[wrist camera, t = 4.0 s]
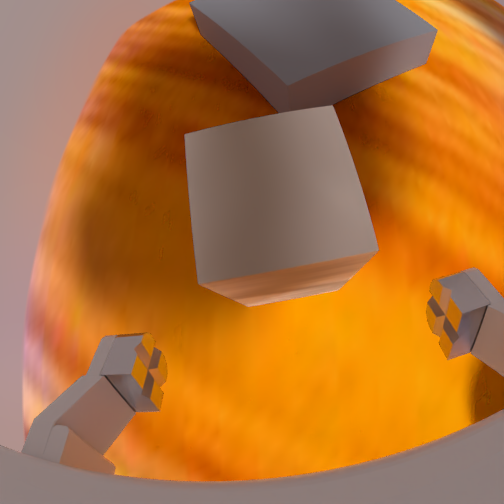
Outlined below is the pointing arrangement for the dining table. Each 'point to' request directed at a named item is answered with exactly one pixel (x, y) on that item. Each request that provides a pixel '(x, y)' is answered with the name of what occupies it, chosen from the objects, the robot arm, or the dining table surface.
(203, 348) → the dining table surface
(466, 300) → the robot arm
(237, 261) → the grey upright block
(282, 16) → the grey plinth
